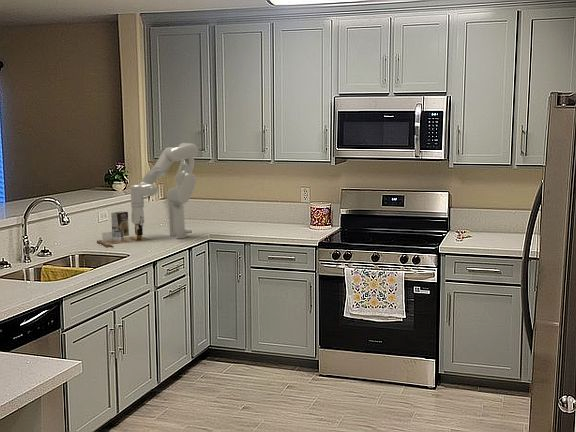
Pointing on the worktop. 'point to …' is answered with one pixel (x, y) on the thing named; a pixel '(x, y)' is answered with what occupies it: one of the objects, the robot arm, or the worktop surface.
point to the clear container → (113, 236)
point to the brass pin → (139, 235)
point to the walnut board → (126, 240)
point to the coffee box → (120, 222)
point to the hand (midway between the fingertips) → (139, 234)
